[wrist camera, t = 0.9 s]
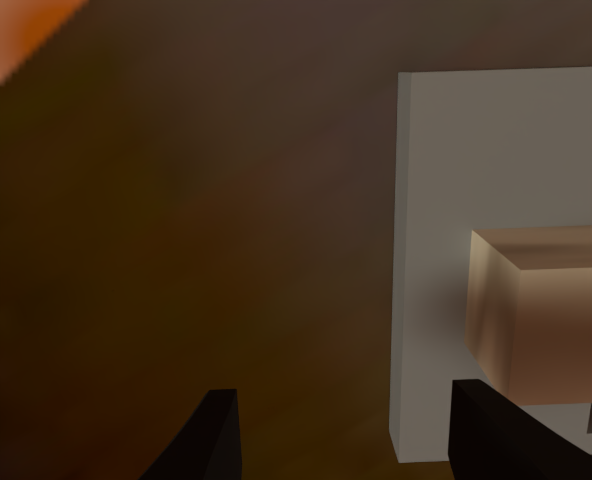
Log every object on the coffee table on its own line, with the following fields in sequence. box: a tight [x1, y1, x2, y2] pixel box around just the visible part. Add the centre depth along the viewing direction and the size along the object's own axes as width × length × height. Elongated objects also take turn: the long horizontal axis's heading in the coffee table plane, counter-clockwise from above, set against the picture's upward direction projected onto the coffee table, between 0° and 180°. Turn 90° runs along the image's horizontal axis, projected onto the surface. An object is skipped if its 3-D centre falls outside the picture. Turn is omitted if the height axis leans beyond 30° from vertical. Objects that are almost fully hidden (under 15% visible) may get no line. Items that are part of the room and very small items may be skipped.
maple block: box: [464, 225, 592, 406], centre depth 18 cm, size 4×4×4 cm
